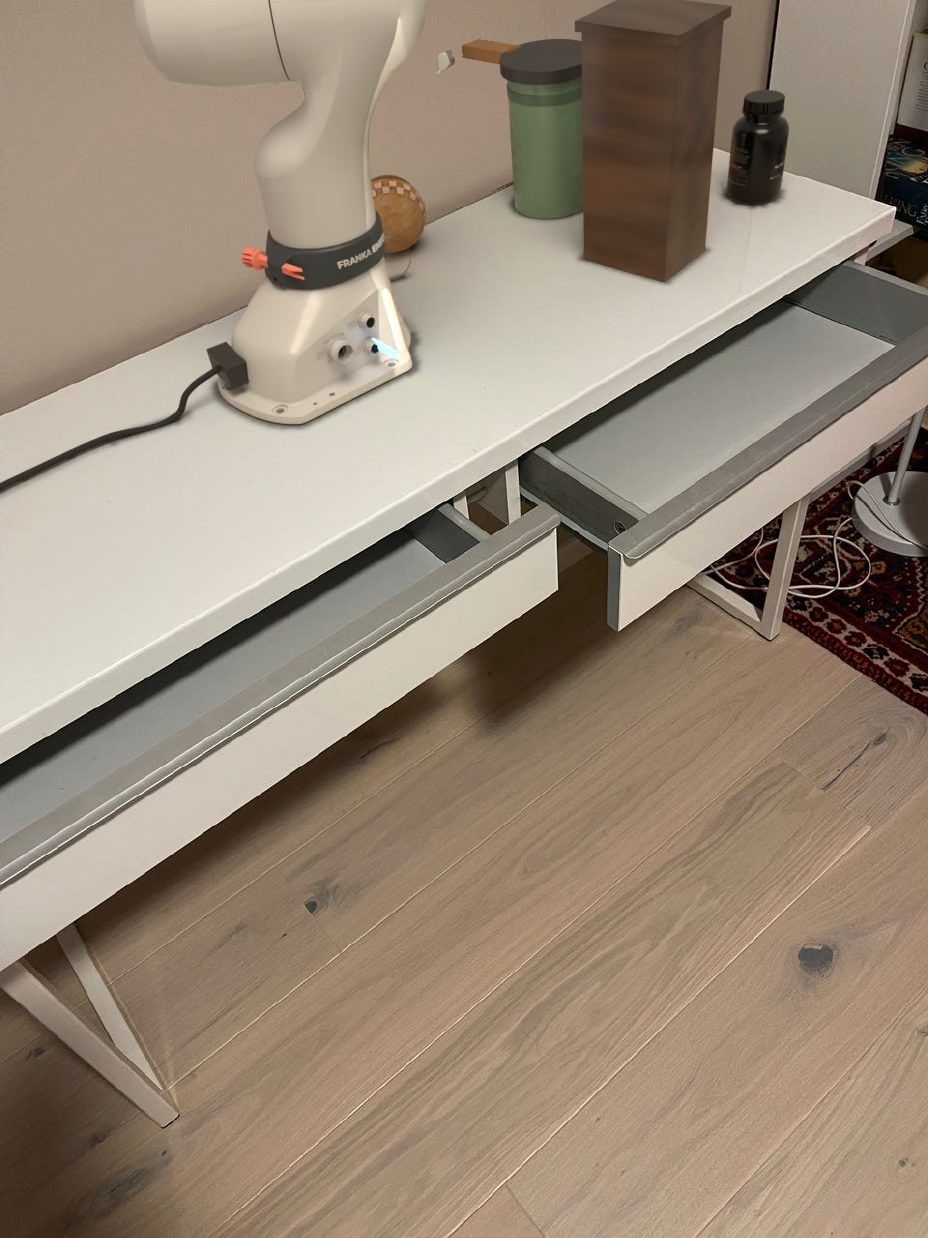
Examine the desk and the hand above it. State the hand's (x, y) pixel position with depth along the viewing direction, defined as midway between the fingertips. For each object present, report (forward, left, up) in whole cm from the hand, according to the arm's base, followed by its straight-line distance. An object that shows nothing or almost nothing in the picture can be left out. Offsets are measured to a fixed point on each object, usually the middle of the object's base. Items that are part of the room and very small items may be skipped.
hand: (471, 46), depth 127 cm
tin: (0, -12, -18) cm, 21 cm away
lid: (0, -8, -1) cm, 8 cm away
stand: (-7, -31, -18) cm, 36 cm away
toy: (-28, -10, -15) cm, 33 cm away
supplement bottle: (+14, -34, -18) cm, 41 cm away
